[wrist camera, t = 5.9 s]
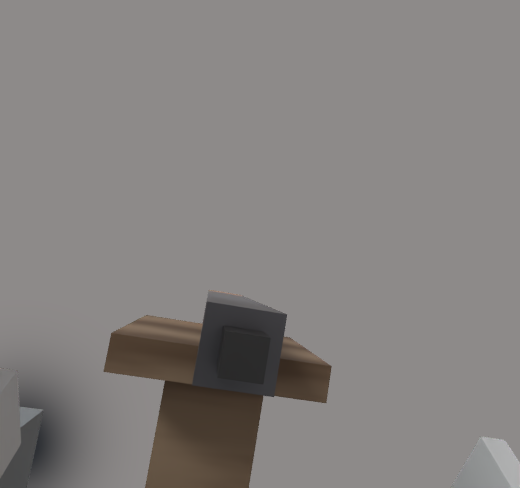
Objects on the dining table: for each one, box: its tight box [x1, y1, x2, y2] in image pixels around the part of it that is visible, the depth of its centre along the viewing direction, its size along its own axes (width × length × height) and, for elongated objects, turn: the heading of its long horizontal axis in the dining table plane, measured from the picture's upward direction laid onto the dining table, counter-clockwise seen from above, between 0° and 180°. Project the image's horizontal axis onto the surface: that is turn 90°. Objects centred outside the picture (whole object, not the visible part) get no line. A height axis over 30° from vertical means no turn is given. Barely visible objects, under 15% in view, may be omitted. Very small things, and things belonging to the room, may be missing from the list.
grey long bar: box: [192, 290, 287, 397], centre depth 24 cm, size 24×3×3 cm, turn 7°
